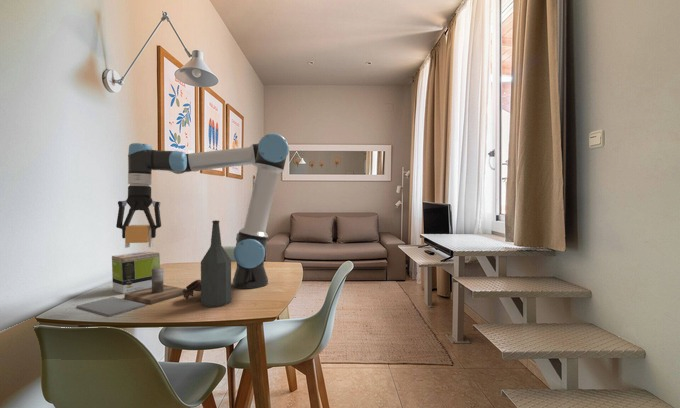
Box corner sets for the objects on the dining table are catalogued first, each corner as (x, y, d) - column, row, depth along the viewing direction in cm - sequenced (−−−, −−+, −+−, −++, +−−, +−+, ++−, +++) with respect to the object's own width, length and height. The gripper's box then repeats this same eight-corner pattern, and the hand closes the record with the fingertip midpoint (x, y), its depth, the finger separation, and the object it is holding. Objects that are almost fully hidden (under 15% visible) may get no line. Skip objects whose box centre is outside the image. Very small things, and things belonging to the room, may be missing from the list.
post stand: (189, 293, 135) (189, 267, 135) (151, 304, 121) (150, 275, 121) (163, 288, 143) (163, 263, 142) (124, 298, 128) (124, 270, 128)
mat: (145, 306, 119) (145, 304, 119) (109, 316, 109) (109, 314, 109) (112, 298, 128) (112, 296, 128) (76, 307, 118) (76, 305, 118)
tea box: (149, 283, 152) (149, 250, 151) (161, 286, 146) (160, 252, 146) (111, 290, 139) (111, 254, 139) (122, 294, 134) (121, 257, 133)
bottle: (220, 308, 116) (219, 221, 116) (195, 306, 119) (194, 221, 118) (236, 299, 127) (235, 219, 126) (212, 298, 129) (212, 219, 128)
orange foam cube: (152, 240, 131) (152, 224, 131) (147, 242, 124) (147, 226, 124) (131, 240, 129) (131, 224, 129) (125, 243, 122) (125, 226, 122)
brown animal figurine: (209, 304, 123) (196, 286, 121) (187, 314, 124) (174, 296, 123) (221, 287, 135) (209, 270, 133) (201, 296, 136) (189, 280, 134)
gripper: (105, 184, 120) (104, 249, 120) (167, 186, 125) (166, 247, 126) (112, 185, 127) (112, 246, 127) (171, 186, 133) (170, 245, 133)
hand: (139, 246), depth 126 cm, fingers closed on orange foam cube, 7 cm apart
